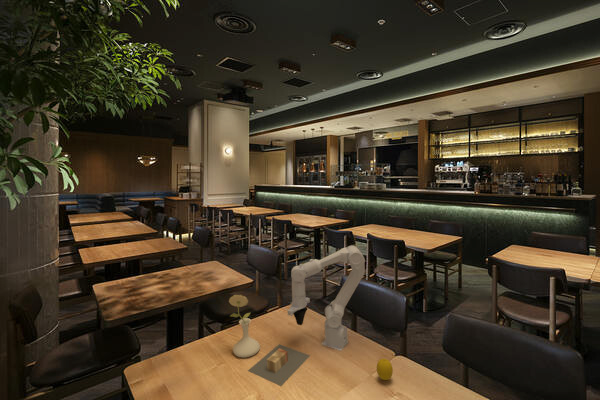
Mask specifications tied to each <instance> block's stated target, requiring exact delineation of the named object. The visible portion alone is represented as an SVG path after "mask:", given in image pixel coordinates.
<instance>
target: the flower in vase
mask: <svg viewBox="0 0 600 400" xmlns="http://www.w3.org/2000/svg"><path fill="white" fill-rule="evenodd" d="M228 302H229V304H230V305H231V306H234V307H237V313H234V312H233V313H232V314H230V315H229V317H231V318H232V317H234V318H238V317H240V319H239V321H238V323H239V324H240V325H241V328H242V338H241V339H239V340H238V341H237V342H236V343H235V344H234V346H233V348H232V352H233V354H234V355H235V356H236V357H239V358H249V357H252V356H254V355H256V354H257V353H258V352H259V350H260V348H261V345H260V343H259V341H257V340H256V339H254V338H253V337H251V336H250V335H249V326H250V324H251V322H252V319H250V318H248V317H249V316H250V315H251V312H247V313H245V314H244V315H243V316H241V315H240V311H239V310H240V308H242V307H245V306H247V305H248V303H249V299H248V297H246V296H245V295H242V294H234V295H233V296H231V297H229V300H228Z"/></svg>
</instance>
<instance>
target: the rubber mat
mask: <svg viewBox="0 0 600 400" xmlns="http://www.w3.org/2000/svg"><path fill="white" fill-rule="evenodd" d="M279 348H280V349H282V350H285V351H287V353H288V361H287V362H286V363H285V364H284V365H283V366H282V367H281V368H280V369H279V370H278V371H277V372H276V373H275V372H273V371H270V370H268V369H267V359H268V358H269V357H270V356H271V355H272V354H274V353H275V352H276V351H277V350H278V349H279ZM310 357H311V355H310V354H307V353H306V352H302V351H299V350H296V349H295V348H291V347H288V346H285V345H283V344H280V343H278V344H277V345H276V346H275V347H274V348H272V350H270V351H269V352H267V353H266V354H265V355H264V356H263V357H262V358H261V359H260V360H259V361H257V362H256V363H255V364H254V365H252V367H250V368H249V369H247V371H248V372H249V373H252V374H254V375H255V376H258V377H259V378H262V379H264V380H267V381H268V382H271V383H273V384H276V386H277V385H278V386H280V387H282V386H283V385H284V384H285V383H286V382H288V380H289V378H291V377H292V376H293V375H294V373H295V372H296V371H297V370H298V369H299V368H300V367H301V366H302V365H303V364H304V363H305V362H306V361H307V360H308V359H309V358H310Z"/></svg>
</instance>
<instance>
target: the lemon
mask: <svg viewBox="0 0 600 400" xmlns="http://www.w3.org/2000/svg"><path fill="white" fill-rule="evenodd" d="M376 364H377V365H376V372H377V376H378V377H379V378H380V379H381V380H383V381H389V380H390V379H391V378H392V376H393V372H394V371H393V365H392V363H391V361H390V360H388V359H387V358H380V359H379V360H378V361H377V363H376Z"/></svg>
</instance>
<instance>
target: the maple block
mask: <svg viewBox="0 0 600 400" xmlns="http://www.w3.org/2000/svg"><path fill="white" fill-rule="evenodd" d="M287 361H288V353H287V351H285V350H282V349H280V348H279V349H278V350H277V351H276V352H275V353H274V354H272V355H271V356H270V357H269V358H268V359H267V369H268V370H270V371H273V372H275V373H276V372H277V371H278V370H279V369H280V368H281V367H282V366H283V365H284V364H285V363H286V362H287Z"/></svg>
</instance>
